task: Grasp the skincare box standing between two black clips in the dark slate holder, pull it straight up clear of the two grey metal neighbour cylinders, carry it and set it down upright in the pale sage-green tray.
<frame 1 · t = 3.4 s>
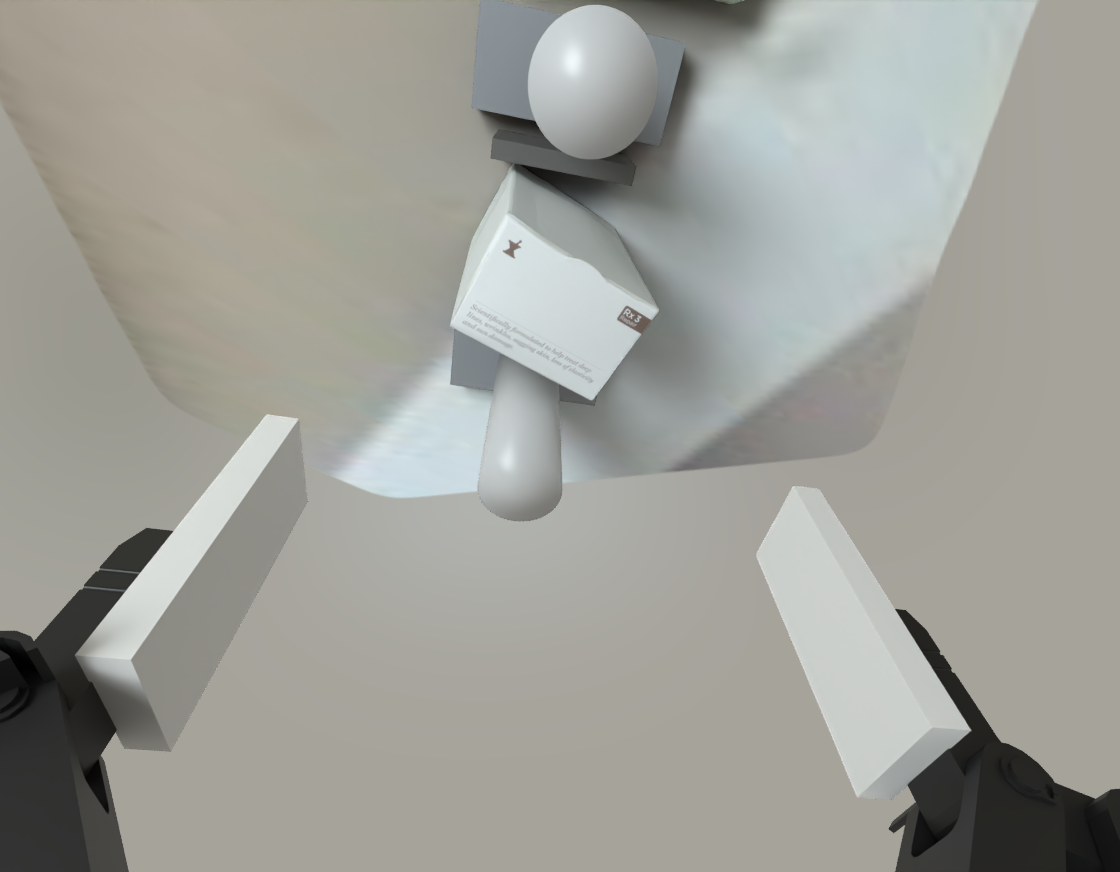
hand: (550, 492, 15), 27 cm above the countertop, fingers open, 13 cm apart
skincare box: (548, 232, 37), on the countertop
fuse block: (548, 233, 37), on the countertop
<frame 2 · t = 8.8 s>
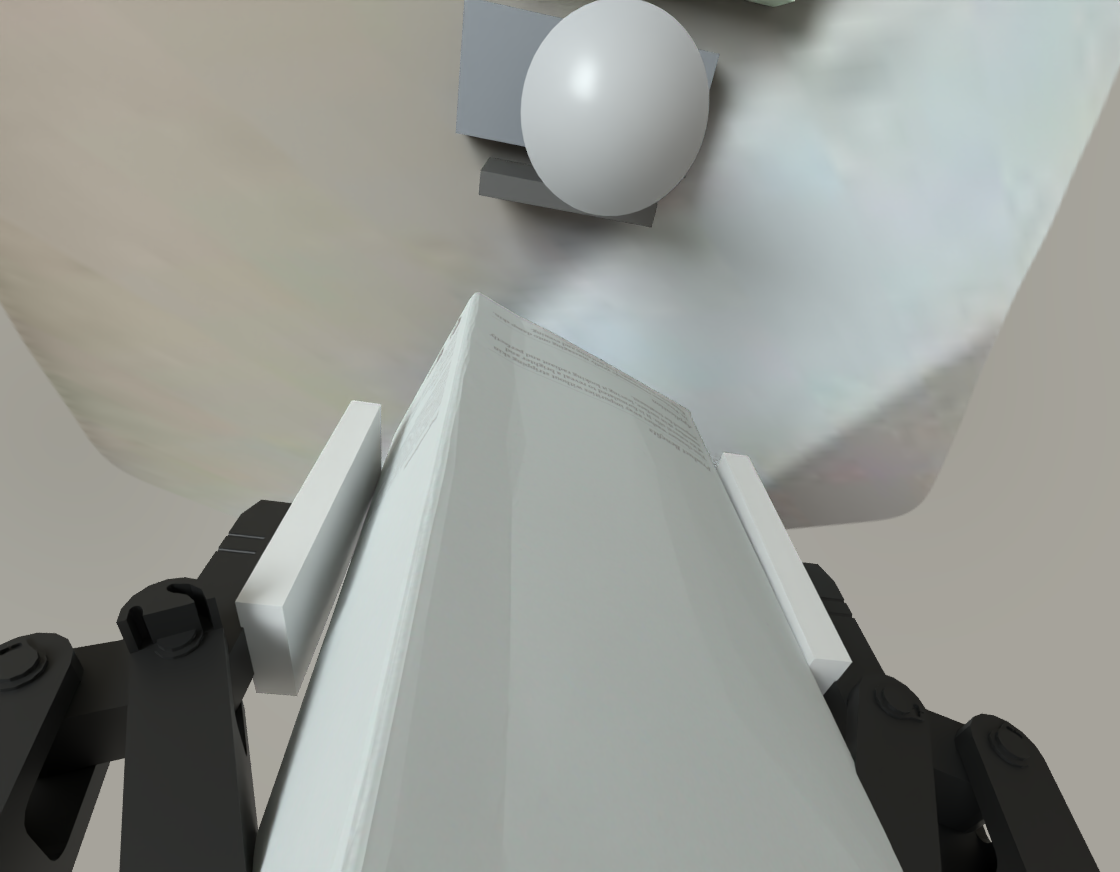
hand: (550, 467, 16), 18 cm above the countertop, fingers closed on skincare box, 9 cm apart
skincare box: (552, 414, 18), point 15 cm above the countertop, touching gripper
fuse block: (550, 277, 31), on the countertop
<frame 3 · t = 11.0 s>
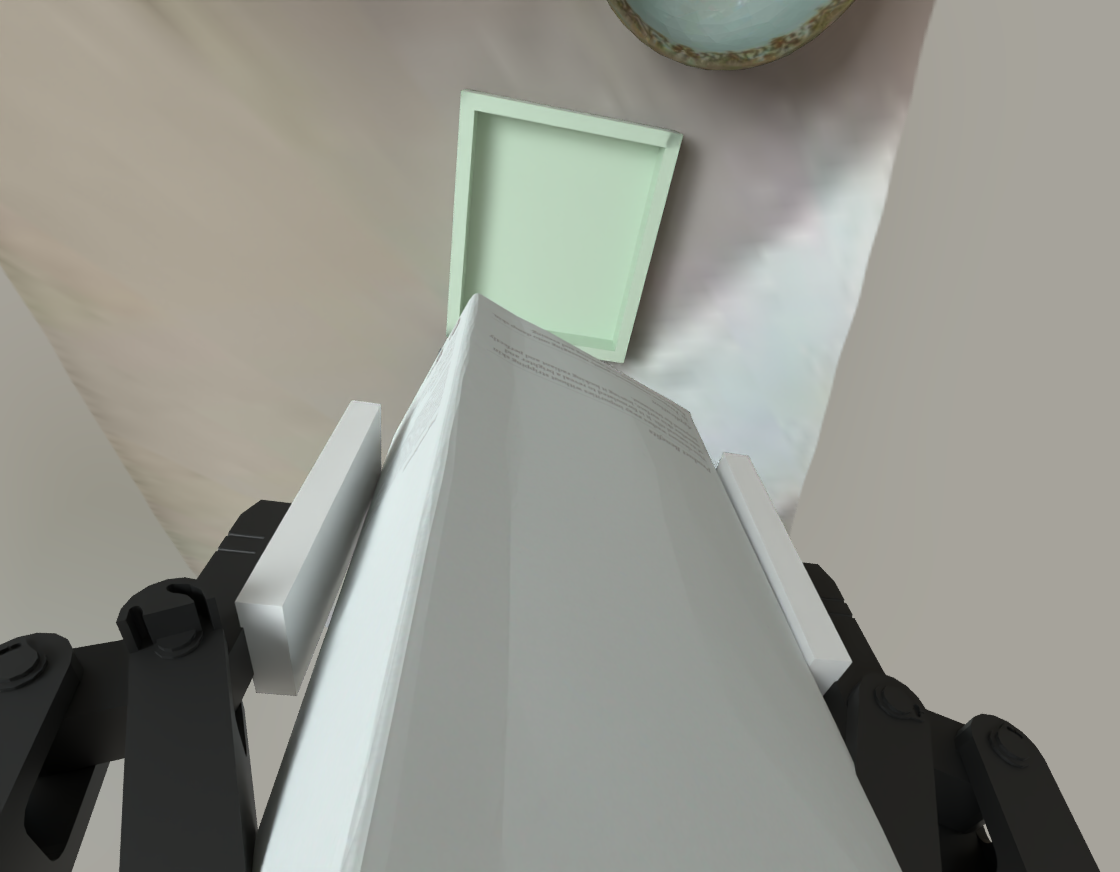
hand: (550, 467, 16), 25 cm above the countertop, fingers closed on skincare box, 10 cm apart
skincare box: (552, 415, 18), point 22 cm above the countertop, touching gripper
tray: (553, 235, 37), on the countertop
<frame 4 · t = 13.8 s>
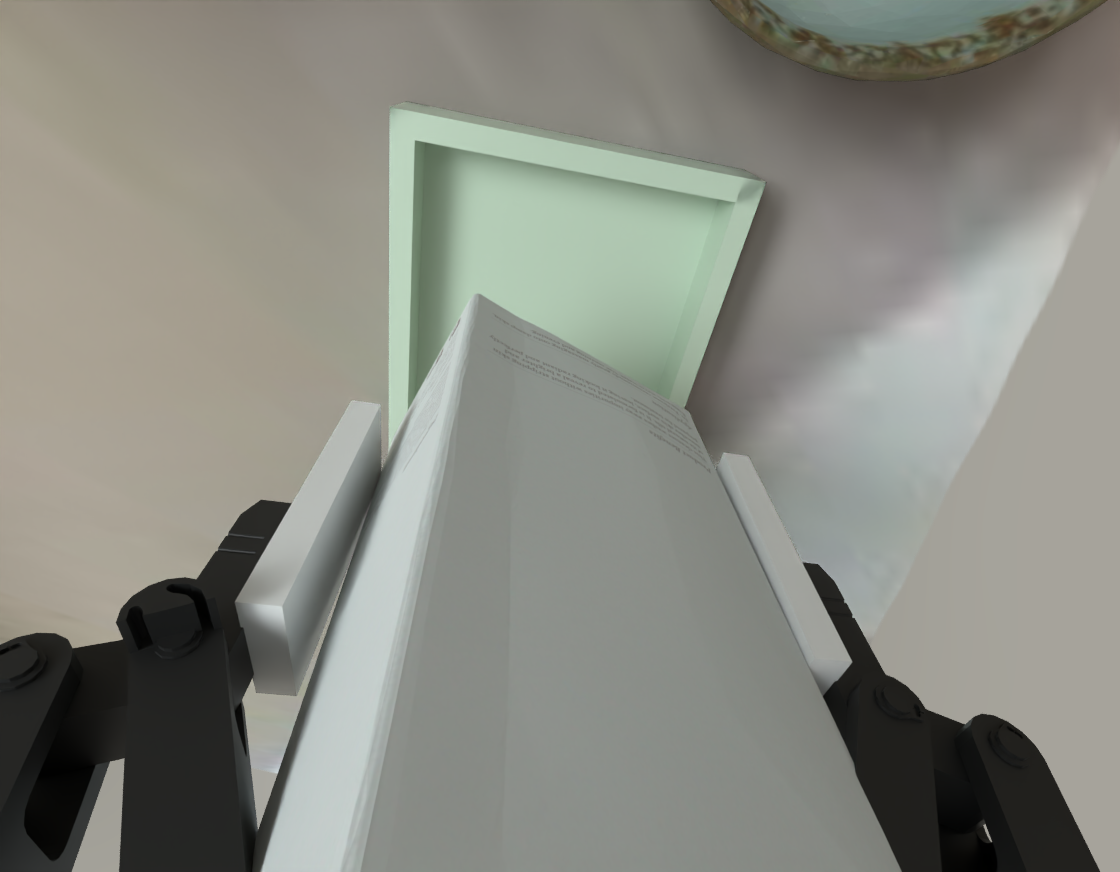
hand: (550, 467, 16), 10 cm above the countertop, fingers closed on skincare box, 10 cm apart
skincare box: (552, 416, 18), point 7 cm above the countertop, touching gripper
tray: (548, 322, 24), on the countertop
when the fingers open (5 cm above the countertop, at t = 15.9 s): skincare box drops 2 cm, resting on tray.
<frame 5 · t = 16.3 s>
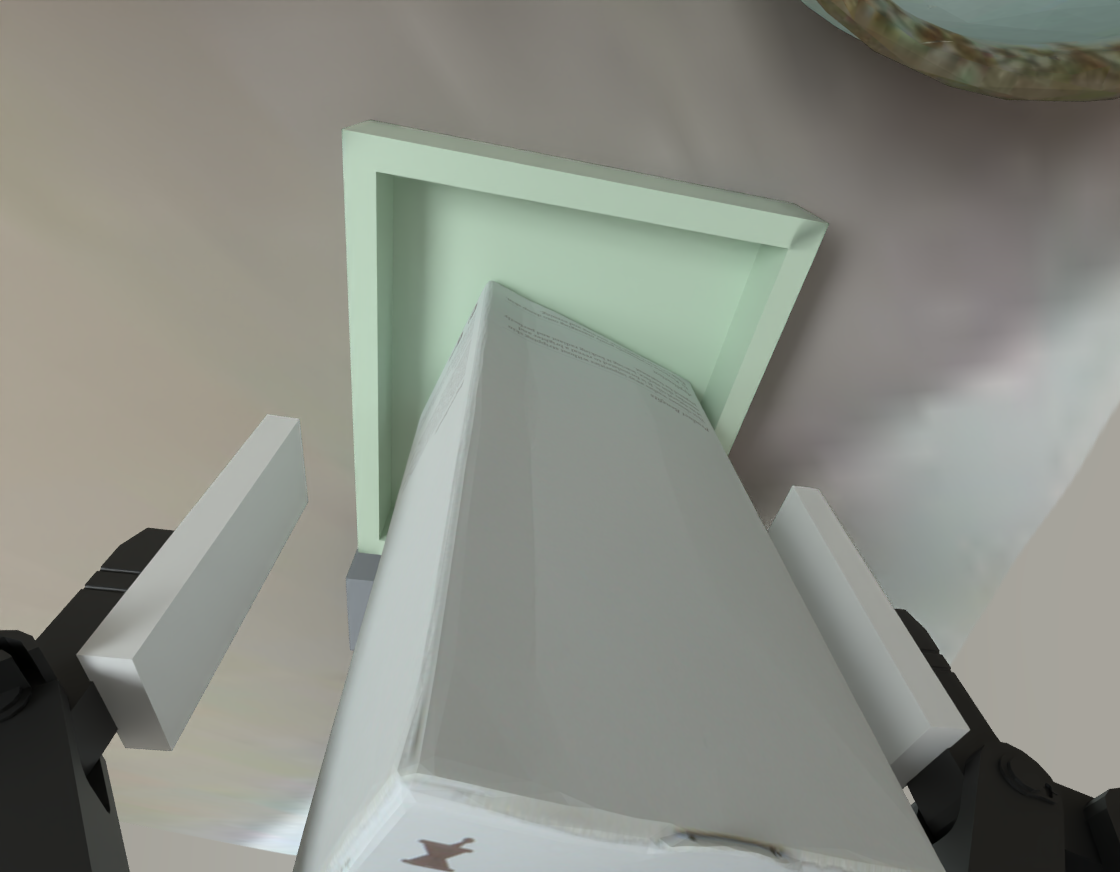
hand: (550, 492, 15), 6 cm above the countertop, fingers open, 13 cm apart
skincare box: (563, 391, 20), resting on tray
tray: (549, 381, 20), on the countertop
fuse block: (463, 695, 31), on the countertop
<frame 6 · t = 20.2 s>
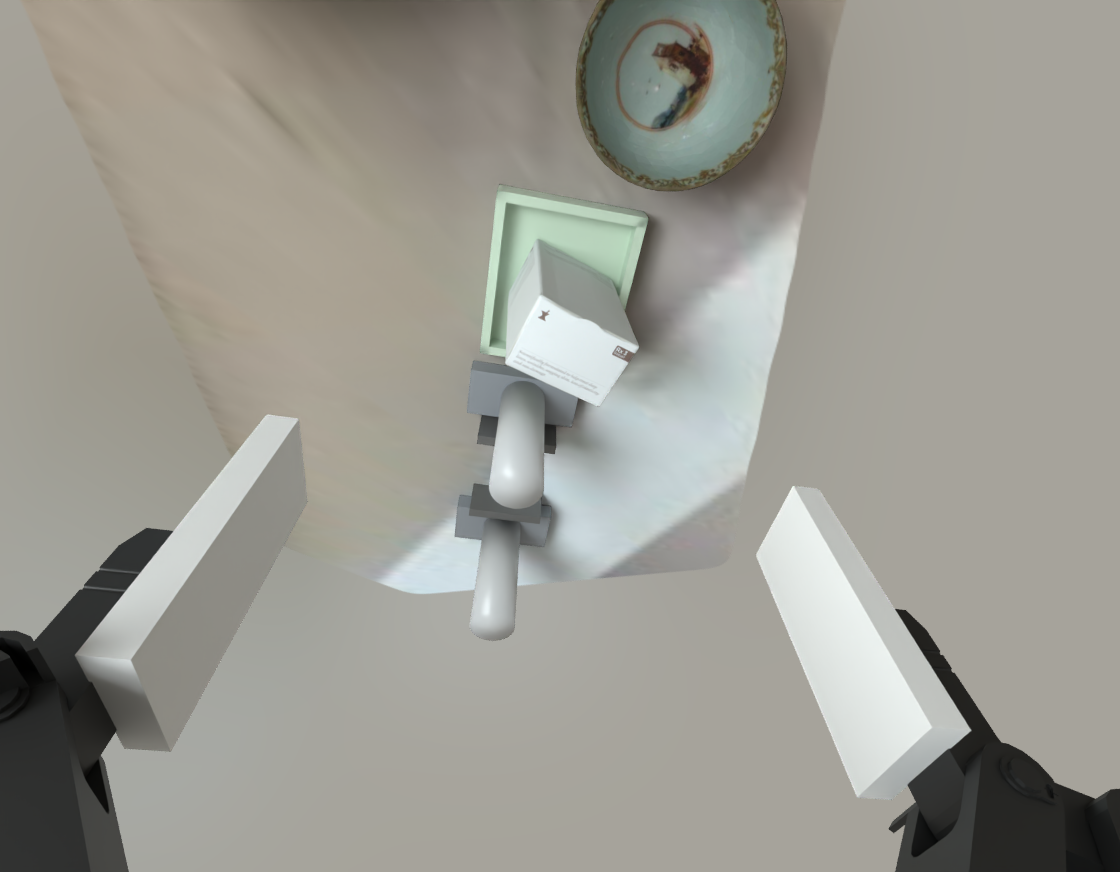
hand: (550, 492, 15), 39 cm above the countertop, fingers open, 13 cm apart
skincare box: (563, 284, 51), resting on tray
bowl: (660, 76, 42), on the countertop
tray: (558, 281, 51), on the countertop
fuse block: (512, 457, 62), on the countertop
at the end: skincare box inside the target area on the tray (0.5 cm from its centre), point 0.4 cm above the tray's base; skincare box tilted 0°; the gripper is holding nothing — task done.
